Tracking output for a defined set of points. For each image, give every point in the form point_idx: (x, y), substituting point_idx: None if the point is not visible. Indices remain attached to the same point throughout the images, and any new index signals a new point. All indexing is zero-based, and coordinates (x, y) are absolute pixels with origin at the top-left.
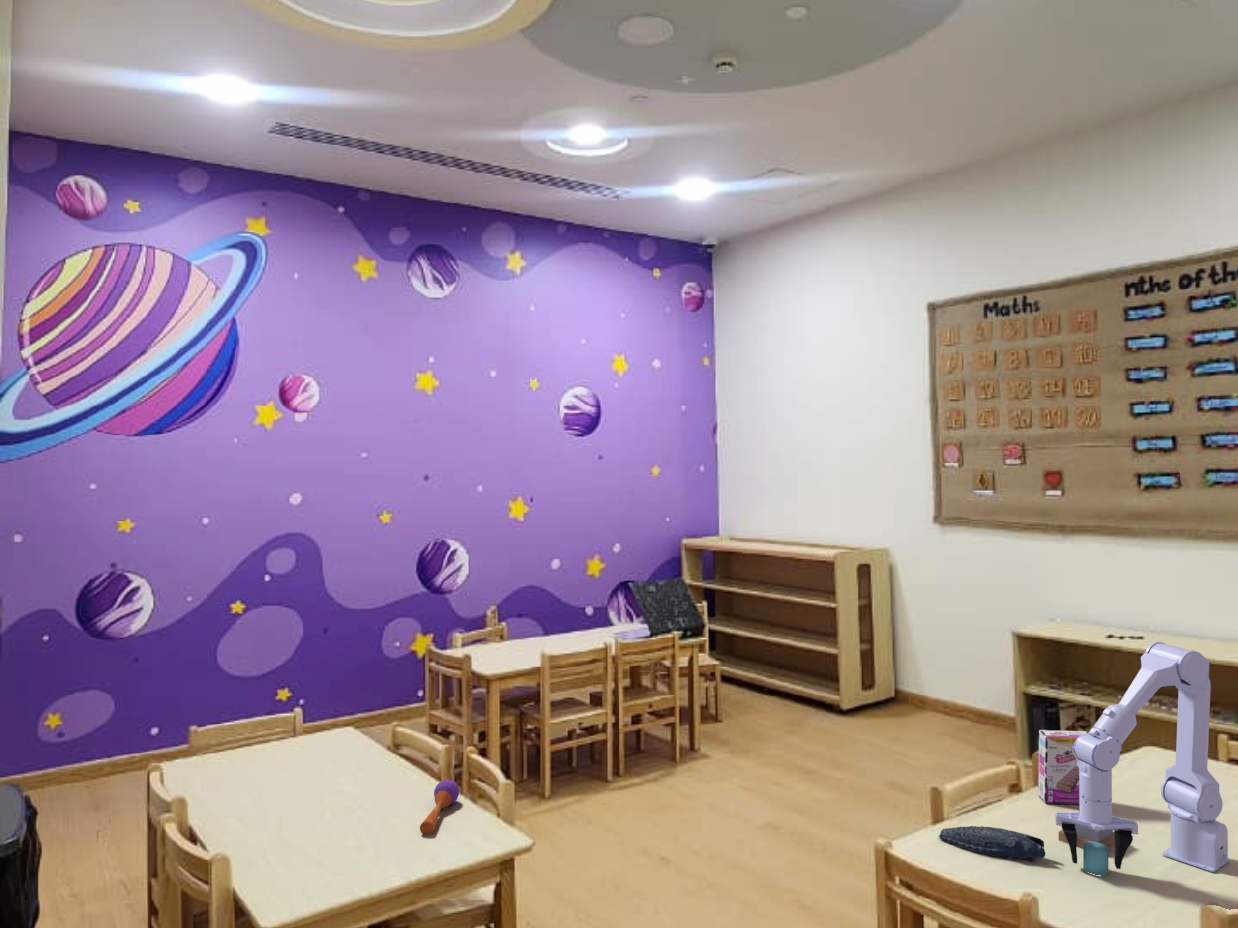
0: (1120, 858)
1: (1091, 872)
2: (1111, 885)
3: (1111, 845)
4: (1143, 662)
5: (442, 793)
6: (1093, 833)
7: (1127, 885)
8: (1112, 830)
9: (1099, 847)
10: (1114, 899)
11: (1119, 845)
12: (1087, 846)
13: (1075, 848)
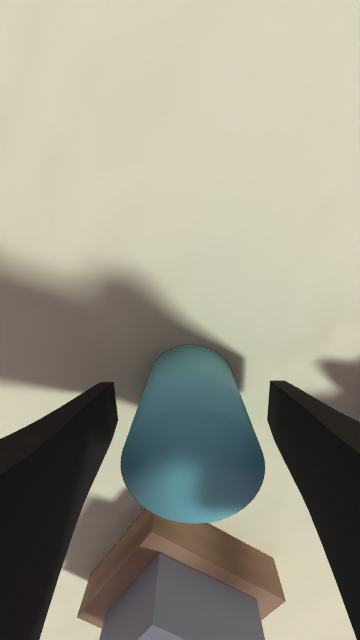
0: (74, 405)
1: (212, 352)
2: (149, 277)
3: (118, 553)
4: None
5: None
6: (172, 605)
7: (90, 299)
8: (101, 635)
9: (171, 461)
10: (151, 134)
11: (18, 458)
12: (243, 456)
13: (324, 418)
